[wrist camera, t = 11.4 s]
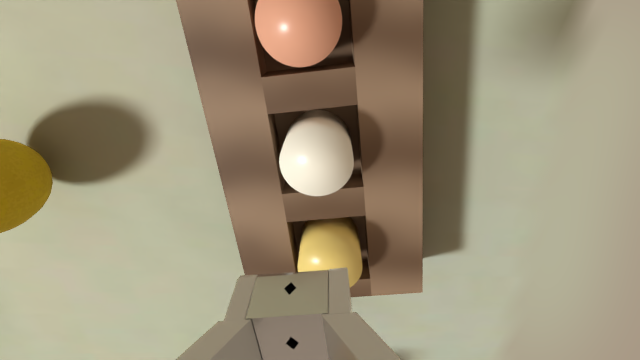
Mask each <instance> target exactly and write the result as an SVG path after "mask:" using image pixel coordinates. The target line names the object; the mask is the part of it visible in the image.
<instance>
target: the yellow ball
mask: <svg viewBox="0 0 640 360" xmlns="http://www.w3.org/2000/svg"><path fill="white" fill-rule="evenodd" d="M345 267H347V269H348V276H349V286H350V287H352V286H353V285H354V284H355V283H356V282H357V281H358V280H359V278H360V276H361V274H362V258H361V249H360V241H359V233H358V229H357V226H356V224H355V223H354V222H353V221H352V219H350V218H349V217H342V218H330V219H318V220H308V221H307V222H306V223H305V225H304V227H303V229H302V235H301V243H300V250H299V258H298V272H306V271H318V270H329V269H335V268H345Z"/></svg>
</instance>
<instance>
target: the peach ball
mask: <svg viewBox="0 0 640 360" xmlns="http://www.w3.org/2000/svg"><path fill="white" fill-rule="evenodd" d="M255 27H256V31H257V35H258V38H259V40H260V42H261V44H262V46H263V47H264V49H265V50H266V51H267V52H268V53H269V54H270V55H271V56H272V57H273V58H274V59H276V60H277V61H279V62H281V63H282V64H285V65H288V66H292V67H307V66H311V65H314V64H316V63H319V62H320V61H322V60H323V59H325V58H326V57H327V56H328V55H329V54H330V53H331V52H332V51H333V49H334V48H335V46H336V44H337V42H338V40H339V37H340V34H341V29H342V12H341V8H340V4H339V2H338V0H258V2H257V5H256V10H255Z"/></svg>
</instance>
